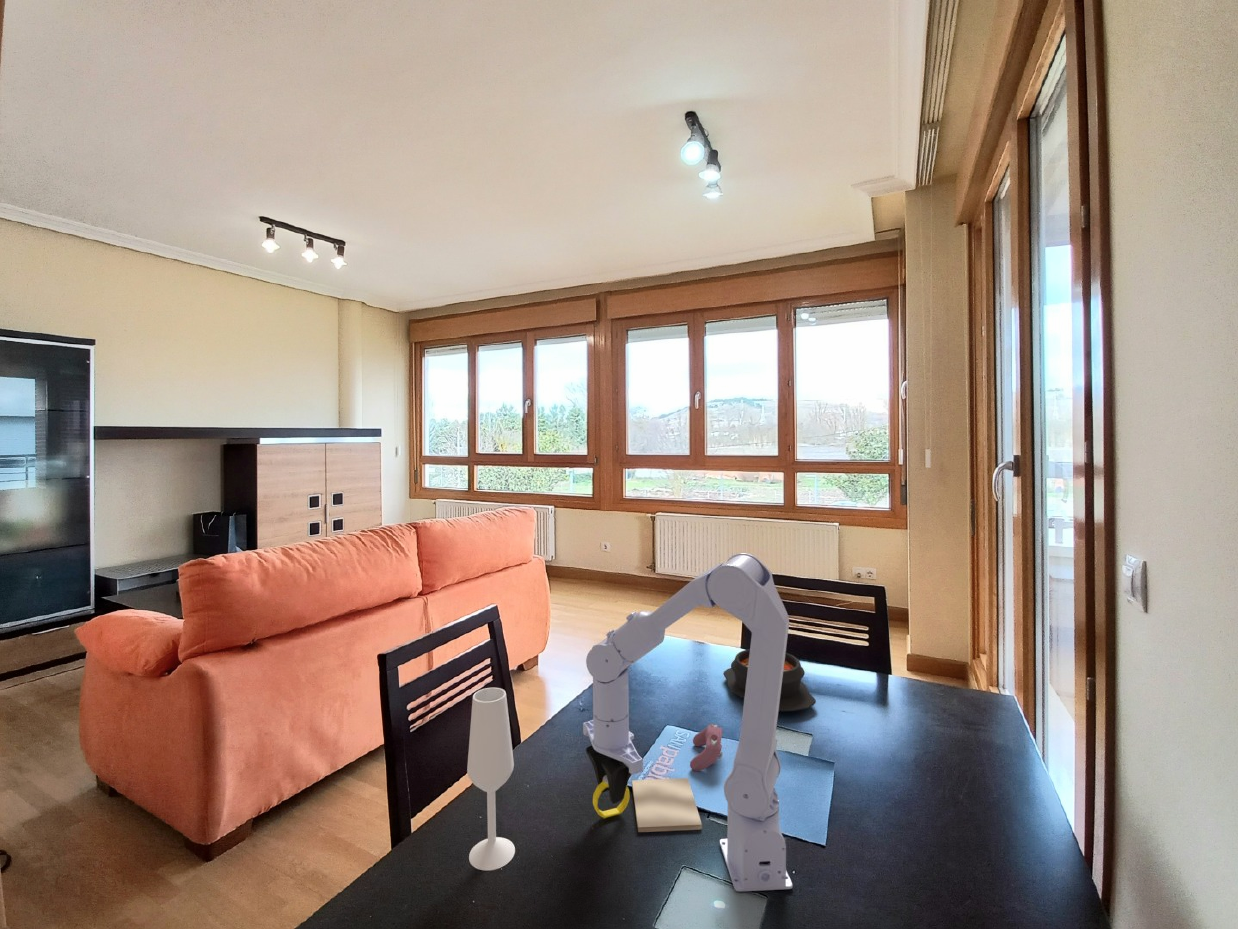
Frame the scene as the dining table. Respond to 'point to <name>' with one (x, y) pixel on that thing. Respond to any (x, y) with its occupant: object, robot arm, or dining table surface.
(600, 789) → the watch
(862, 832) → the dining table surface
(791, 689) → the casserole
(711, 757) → the video game controller
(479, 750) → the champagne flute
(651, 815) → the wooden board
